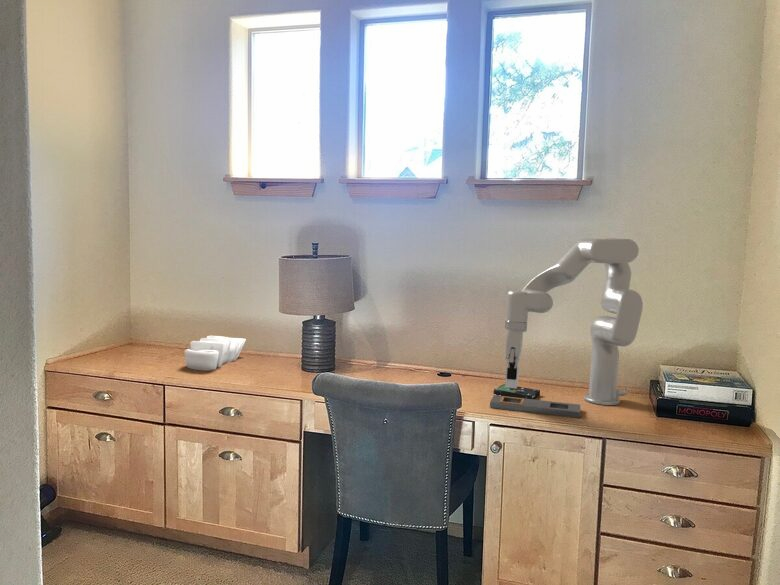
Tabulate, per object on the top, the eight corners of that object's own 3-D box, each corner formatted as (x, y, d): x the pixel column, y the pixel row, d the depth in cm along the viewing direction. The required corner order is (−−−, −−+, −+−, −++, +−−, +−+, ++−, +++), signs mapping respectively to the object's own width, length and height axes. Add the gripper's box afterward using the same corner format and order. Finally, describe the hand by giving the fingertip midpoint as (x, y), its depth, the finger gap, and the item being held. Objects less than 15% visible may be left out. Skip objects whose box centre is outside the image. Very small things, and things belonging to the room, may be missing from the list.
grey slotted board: (580, 410, 214) (580, 404, 214) (580, 418, 205) (580, 411, 205) (493, 400, 223) (494, 394, 223) (489, 407, 214) (490, 401, 213)
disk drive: (540, 397, 232) (503, 390, 240) (540, 390, 232) (503, 383, 240) (530, 403, 224) (492, 395, 232) (531, 395, 223) (493, 388, 231)
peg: (517, 385, 217) (519, 358, 216) (516, 388, 213) (518, 360, 212) (506, 384, 218) (508, 356, 217) (504, 387, 214) (506, 358, 213)
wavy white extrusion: (217, 354, 286) (217, 332, 285) (249, 357, 283) (250, 334, 282) (175, 370, 252) (175, 345, 251) (211, 373, 249) (211, 348, 248)
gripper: (507, 322, 222) (504, 372, 224) (502, 328, 207) (498, 381, 208) (528, 324, 220) (525, 374, 222) (524, 330, 204) (520, 384, 206)
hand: (512, 377), depth 215 cm, fingers closed on peg, 4 cm apart
